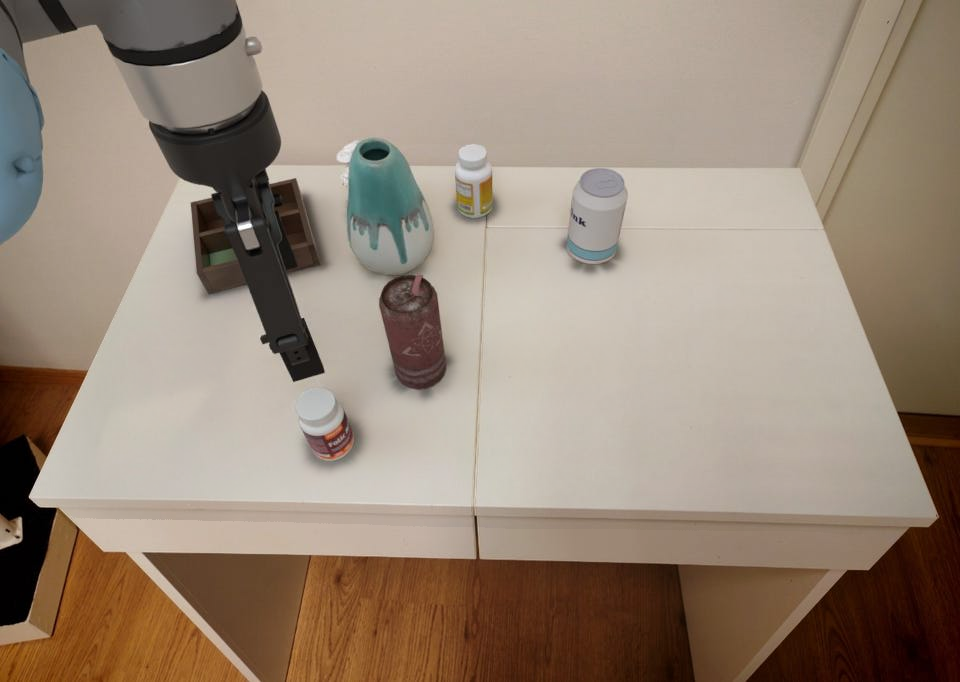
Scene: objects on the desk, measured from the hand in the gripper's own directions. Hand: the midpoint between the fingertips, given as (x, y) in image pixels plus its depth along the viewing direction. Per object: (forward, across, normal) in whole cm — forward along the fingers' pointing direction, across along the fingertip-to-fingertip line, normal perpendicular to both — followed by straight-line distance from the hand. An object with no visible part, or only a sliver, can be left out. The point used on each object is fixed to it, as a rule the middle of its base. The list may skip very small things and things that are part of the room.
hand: (295, 317), depth 55 cm
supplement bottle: (+18, +28, -28) cm, 43 cm away
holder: (+18, +33, +4) cm, 37 cm away
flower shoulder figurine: (+18, +34, -12) cm, 40 cm away
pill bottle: (+18, -3, +1) cm, 18 cm away
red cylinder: (+18, +2, -11) cm, 21 cm away
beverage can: (+17, +13, -39) cm, 45 cm away
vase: (+18, +22, -13) cm, 31 cm away
